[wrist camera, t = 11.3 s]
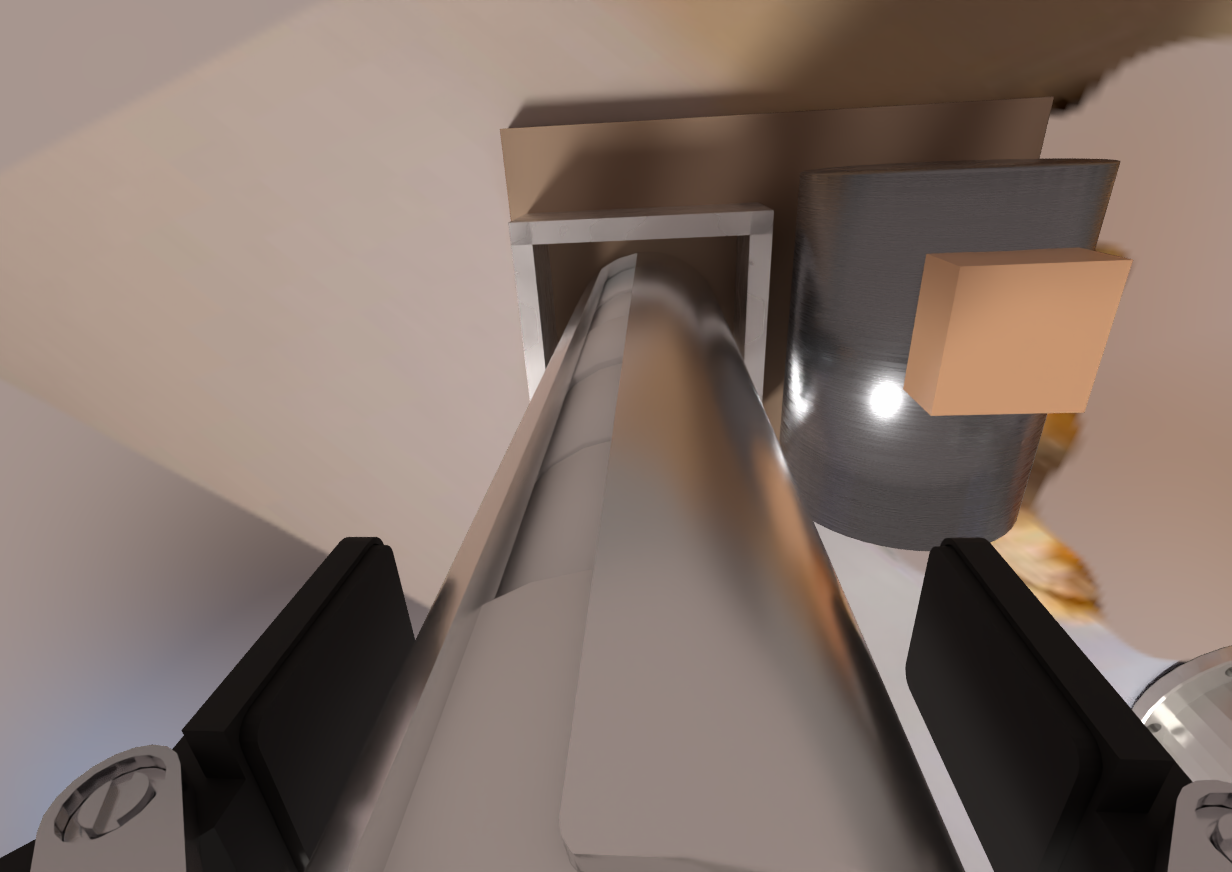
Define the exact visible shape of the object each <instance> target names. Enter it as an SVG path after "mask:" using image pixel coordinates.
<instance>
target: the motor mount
mask: <svg viewBox="0 0 1232 872" xmlns="http://www.w3.org/2000/svg"><path fill="white" fill-rule="evenodd" d="M1053 99H1054V97H1038V98H1020V99H1003V100H986V101H969V102H952V103H935V104H918V105H901V106H884V107H867V108H849V109H832V110H815V111H798V112H781V113H764V114H747V115H730V116H713V117H696V118H679V119H661V120H644V121H627V122H610V123H593V124H576V125H559V126H542V127H525V128H508V129H500V134H501V142H502V150H503V159H504V167H505V176H506V184H507V192H508V201H509V209H510V217H511V222H509V223H508V224H509V232H510V240H511V249H512V257H513V265H514V273H515V282H516V290H517V298H518V306H519V315H520V323H521V331H522V339H523V348H524V356H525V364H526V372H527V381H528V389H529V397H530V401H531V399H532V397H533V395H534V393H535V391H536V389H537V387H538V384H539V382H540V380H541V378H542V376H543V374H544V372H545V370H546V368H547V366H548V364H549V362H550V360H551V357H552V355H553V353H554V351H555V349H556V347H557V345H558V343H559V341H560V339H561V337H562V335H563V332H564V330H565V328H566V326H567V324H568V322H569V320H570V318H571V316H572V314H573V312H574V310H575V308H576V305H577V303H578V301H579V299H580V297H581V295H582V293H583V292H584V290H585V288H586V286H587V284H588V282H589V281H590V280H591V279H592V278H593V277H594V276H595V275H596V274H597V273H598V271H599V270H600V269H601V268H603V267H604V266H606V265H607V264H609V263H611V262H612V261H614V260H616V259H617V258H619V257H623V256H626V255H630V254H633V253H636V252H660V253H663V254H667V255H671V256H675V257H678V258H679V259H681V260H683V261H684V262H686V263H688V264H690V265H691V266H693V267H694V268H695V269H696V270H697V271H698V272H699V273H700V274H701V275H702V276H703V277H704V278H705V279H706V280H707V281H708V283H709V285H710V287H711V289H712V291H713V293H714V295H715V296H716V298H717V301H718V303H719V305H720V308H721V310H722V312H723V315H724V317H725V319H726V322H727V324H728V326H729V328H730V331H731V333H732V335H733V338H734V340H735V342H736V345H737V347H738V349H739V351H740V354H741V356H742V358H743V361H744V363H745V365H746V368H747V370H748V372H749V375H750V377H751V379H752V381H753V384H754V386H755V388H756V391H757V393H758V395H759V398H760V400H761V402H762V405H763V407H764V409H765V411H766V414H767V416H768V418H769V421H770V423H771V425H772V428H773V430H774V432H775V435H776V437H777V439H778V441H779V444H780V446H781V448H782V451H783V453H784V455H785V458H786V460H787V462H788V464H789V467H790V469H791V471H792V474H793V476H794V478H795V481H796V483H797V485H798V488H799V490H800V492H801V494H802V497H803V499H804V501H805V504H806V506H807V508H808V511H809V513H810V515H811V518H812V520H813V521H814V522H816V523H818V524H820V525H822V526H824V527H826V528H828V529H830V530H832V531H835V532H837V533H840V534H842V535H845V536H848V537H851V538H854V539H857V540H860V541H864V542H868V543H872V544H876V545H880V546H886V547H891V548H897V549H905V550H915V551H930V550H931V549H932V548H933V547H935V546H940V545H941V542H942V541H943V540H944V539H945V538H985V539H986V540H987V541H989V542H992V541H995V540H997V539H998V538H1000V537H1002V536H1003V535H1005V534H1006V533H1007V532H1008V531H1009V530H1010V529H1012V527H1013V525H1014V524H1015V522H1016V520H1017V516H1018V513H1019V509H1020V506H1021V502H1022V499H1023V496H1024V492H1025V489H1026V485H1027V482H1028V478H1029V475H1030V471H1031V468H1032V465H1033V461H1034V458H1035V454H1036V451H1037V447H1038V444H1039V440H1040V437H1041V434H1042V430H1043V427H1044V423H1045V420H1046V416H1047V413H1079V412H1085V409H1086V405H1087V402H1088V399H1089V396H1090V393H1091V390H1092V387H1093V384H1094V380H1095V377H1096V374H1097V371H1098V368H1099V365H1100V362H1101V358H1102V355H1103V352H1104V349H1105V346H1106V343H1107V340H1108V337H1109V333H1110V330H1111V327H1112V324H1113V321H1114V318H1115V315H1116V311H1117V308H1118V305H1119V302H1120V299H1121V296H1122V293H1123V290H1124V286H1125V283H1126V280H1127V277H1128V274H1129V271H1130V268H1131V265H1132V261H1133V260H1132V259H1127V258H1123V257H1119V256H1114V255H1110V254H1105V253H1101V252H1097V251H1095V247H1096V244H1097V241H1098V237H1099V233H1100V230H1101V227H1102V223H1103V220H1104V216H1105V213H1106V209H1107V206H1108V203H1109V199H1110V196H1111V192H1112V189H1113V185H1114V182H1115V179H1116V175H1117V171H1118V168H1119V165H1120V161H1118V160H1108V159H1039V158H1040V154H1041V149H1042V145H1043V141H1044V137H1045V133H1046V128H1047V124H1048V120H1049V116H1050V111H1051V107H1052V103H1053Z"/></svg>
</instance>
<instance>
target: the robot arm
mask: <svg viewBox="0 0 1232 872" xmlns="http://www.w3.org/2000/svg"><path fill="white" fill-rule="evenodd" d="M414 642H415V638H414V634H413V630H412V626H411V622H410V618H409V614H408V610H407V606H406V602H405V598H404V594H403V590H402V586H401V582H400V578H399V574H398V570H397V566H396V562H395V558H394V555H393V551H392V549H391V547H390V546H388V545H384V544H383V542H382V540H381V539H380V538H377V537H347V538H344V539H343V540H341V541H340V542H339V544H338V545H337V546H336V547H335V548H334V550H333V551H332V552H331V553H330V554H329V556H328V557H327V558H326V559H325V560H324V562H323V563H322V564H321V565H320V566H319V567H318V569H317V570H316V571H315V572H314V574H313V575H312V576H311V577H310V578H309V579H308V581H307V582H306V583H305V584H304V585H303V587H302V588H301V589H300V590H299V591H298V592H297V594H296V595H295V596H294V597H293V598H292V600H291V601H290V602H289V603H288V604H287V606H286V607H285V608H284V609H283V610H282V611H281V613H280V614H279V615H278V616H277V618H276V619H275V620H274V621H273V622H272V623H271V625H270V626H269V627H268V628H267V629H266V631H265V632H264V633H263V634H262V635H261V636H260V638H259V639H258V640H257V641H256V642H255V644H254V645H253V646H252V647H251V648H250V650H249V651H248V652H247V653H246V654H245V656H244V657H243V658H242V659H241V660H240V661H239V663H238V664H237V665H236V666H235V667H234V669H233V670H232V671H231V672H230V673H229V675H228V676H227V677H226V678H225V679H224V680H223V682H222V683H221V684H220V685H219V686H218V688H217V689H216V690H215V691H214V692H213V694H212V695H211V696H210V697H209V698H208V700H207V701H206V702H205V703H204V704H203V705H202V707H201V708H200V709H199V710H198V711H197V713H196V714H195V715H194V716H193V717H192V719H191V720H190V721H189V722H188V723H187V724H186V726H185V727H184V728H183V729H182V732H183V734H184V736H183V737H182V738H181V740H180V741H179V742H178V743H177V744H176V746H175V747H174V748H173V749H170V748H169V747H167V746H159V745H148V746H142V747H135V748H132V749H130V750H127V751H124V752H121V753H119V754H116V755H114V756H112V757H110V758H108V759H106V760H105V761H103V762H101V763H99V764H97V765H95V766H93V767H92V768H91V769H89V770H88V771H87V772H85V773H84V774H83V775H81V776H80V777H78V778H77V779H76V780H74V781H73V782H72V783H71V784H70V785H69V786H68V787H67V788H66V789H65V790H64V791H63V792H62V793H61V794H60V795H59V796H58V797H57V798H56V799H55V800H54V802H53V803H52V804H51V806H50V807H49V808H48V810H47V811H46V813H45V814H44V815H43V818H42V821H41V823H40V826H39V828H38V832H37V835H36V839H35V840H33V841H31V842H30V843H28V844H26V845H24V846H22V847H20V848H18V849H16V850H14V851H13V852H11V853H9V854H7V855H5V856H3V857H1V858H0V872H304V871H305V869H306V867H307V865H308V863H309V860H310V858H311V856H312V854H313V852H314V850H315V848H316V846H317V844H318V842H319V840H320V838H321V836H322V833H323V831H324V829H325V827H326V825H327V823H328V821H329V819H330V817H331V815H332V813H333V811H334V809H335V806H336V804H337V802H338V800H339V798H340V796H341V794H342V792H343V790H344V788H345V786H346V784H347V781H348V779H349V777H350V775H351V773H352V771H353V769H354V767H355V765H356V763H357V761H358V759H359V757H360V754H361V752H362V750H363V748H364V746H365V744H366V742H367V740H368V738H369V736H370V734H371V732H372V730H373V727H374V725H375V723H376V721H377V719H378V717H379V715H380V713H381V711H382V709H383V707H384V705H385V703H386V700H387V698H388V696H389V694H390V692H391V690H392V688H393V686H394V684H395V682H396V680H397V678H398V675H399V673H400V671H401V669H402V667H403V665H404V663H405V661H406V659H407V657H408V655H409V653H410V651H411V648H412V646H413V644H414ZM905 669H906V679H907V683H908V686H909V689H910V691H911V694H912V696H913V698H914V700H915V702H916V704H917V706H918V709H919V711H920V713H921V715H922V717H923V719H924V722H925V724H926V726H927V728H928V730H929V732H930V734H931V737H932V739H933V741H934V743H935V745H936V747H937V750H938V752H939V754H940V756H941V758H942V760H943V762H944V765H945V767H946V769H947V771H948V773H949V775H950V778H951V780H952V782H953V784H954V786H955V788H956V790H957V793H958V795H959V797H960V799H961V801H962V803H963V806H964V808H965V810H966V812H967V814H968V816H969V818H970V821H971V823H972V825H973V827H974V829H975V831H976V834H977V836H978V838H979V840H980V842H981V844H982V846H983V849H984V851H985V853H986V855H987V857H988V859H989V862H990V864H991V866H992V868H993V870H994V872H1232V646H1228V647H1224V648H1221V649H1218V650H1215V651H1213V652H1209V653H1207V654H1204V655H1201V656H1199V657H1197V658H1195V659H1193V660H1190V661H1188V662H1186V663H1184V664H1182V665H1180V666H1178V667H1177V668H1175V669H1174V670H1172V671H1171V672H1169V673H1168V674H1166V675H1165V676H1163V677H1161V678H1160V679H1159V680H1158V681H1157V682H1156V683H1154V684H1153V685H1152V686H1151V687H1150V688H1149V689H1147V690H1146V691H1145V693H1144V694H1143V695H1142V696H1141V697H1140V699H1139V700H1138V701H1137V702H1136V703H1135V705H1134V707H1133V708H1132V709H1131V708H1130V707H1129V706H1128V705H1127V703H1126V702H1125V701H1124V700H1123V699H1122V698H1121V696H1120V695H1119V694H1118V693H1117V692H1116V691H1115V689H1114V688H1113V687H1112V686H1111V685H1110V683H1109V682H1108V681H1107V680H1106V679H1105V678H1104V676H1103V675H1102V674H1101V673H1100V672H1099V670H1098V669H1097V668H1096V667H1095V666H1094V665H1093V663H1092V662H1091V661H1090V660H1089V659H1088V658H1087V656H1086V655H1085V654H1084V653H1083V652H1082V650H1081V649H1080V648H1079V647H1078V646H1077V645H1076V643H1075V642H1074V641H1073V640H1072V639H1071V638H1070V636H1069V635H1068V634H1067V633H1066V632H1065V630H1064V629H1063V628H1062V627H1061V626H1060V625H1059V623H1058V622H1057V621H1056V620H1055V619H1054V618H1053V616H1052V615H1051V614H1050V613H1049V612H1048V610H1047V609H1046V608H1045V607H1044V606H1043V605H1042V603H1041V602H1040V601H1039V600H1038V599H1037V598H1036V596H1035V595H1034V594H1033V593H1032V592H1031V590H1030V589H1029V588H1028V587H1027V586H1026V585H1025V583H1024V582H1023V581H1022V580H1021V579H1020V578H1019V576H1018V575H1017V574H1016V573H1015V572H1014V570H1013V569H1012V568H1011V567H1010V566H1009V565H1008V563H1007V562H1006V561H1005V560H1004V559H1003V558H1002V556H1001V555H1000V554H999V553H998V552H997V550H996V549H995V548H994V547H993V546H992V545H991V543H990V542H989V541H987V540H986V539H985V538H945V539H944V540H943V541H942V542H941V545H940V546H935V547H933V548H932V549H931V550H930V554H929V558H928V562H927V567H926V572H925V577H924V581H923V586H922V591H921V595H920V600H919V605H918V609H917V614H916V619H915V624H914V628H913V633H912V638H911V642H910V647H909V652H908V656H907V661H906V668H905Z"/></svg>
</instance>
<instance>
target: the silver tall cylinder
mask: <svg viewBox="0 0 1232 872" xmlns="http://www.w3.org/2000/svg"><path fill="white" fill-rule="evenodd" d="M304 872H965V870H964V868H963V866H962V863H961V861H960V859H959V857H958V854H957V852H956V850H955V847H954V845H953V843H952V840H951V838H950V836H949V833H948V831H947V829H946V827H945V824H944V822H943V820H942V817H941V815H940V813H939V810H938V808H937V806H936V803H935V801H934V799H933V797H932V794H931V792H930V790H929V787H928V785H927V783H926V780H925V778H924V776H923V774H922V771H921V769H920V767H919V764H918V762H917V760H916V757H915V755H914V753H913V750H912V748H911V746H910V744H909V741H908V739H907V737H906V734H905V732H904V730H903V727H902V725H901V723H900V720H899V718H898V716H897V714H896V711H895V709H894V707H893V704H892V702H891V700H890V697H889V695H888V693H887V690H886V688H885V686H884V684H883V681H882V679H881V677H880V674H879V672H878V670H877V667H876V665H875V663H874V661H873V658H872V656H871V654H870V651H869V649H868V647H867V644H866V642H865V640H864V637H863V635H862V633H861V631H860V628H859V626H858V624H857V621H856V619H855V617H854V614H853V612H852V610H851V607H850V605H849V603H848V601H847V598H846V596H845V594H844V591H843V589H842V587H841V584H840V582H839V580H838V577H837V575H836V573H835V571H834V568H833V566H832V564H831V561H830V559H829V557H828V554H827V552H826V550H825V548H824V545H823V543H822V541H821V538H820V536H819V534H818V531H817V529H816V527H815V524H814V522H813V520H812V518H811V515H810V513H809V511H808V508H807V506H806V504H805V501H804V499H803V497H802V494H801V492H800V490H799V488H798V485H797V483H796V481H795V478H794V476H793V474H792V471H791V469H790V467H789V464H788V462H787V460H786V458H785V455H784V453H783V451H782V448H781V446H780V444H779V441H778V439H777V437H776V435H775V432H774V430H773V428H772V425H771V423H770V421H769V418H768V416H767V414H766V411H765V409H764V407H763V405H762V402H761V400H760V398H759V395H758V393H757V391H756V388H755V386H754V384H753V381H752V379H751V377H750V375H749V372H748V370H747V368H746V365H745V363H744V361H743V358H742V356H741V354H740V351H739V349H738V347H737V345H736V342H735V340H734V338H733V335H732V333H731V331H730V328H729V326H728V324H727V322H726V319H725V317H724V315H723V312H722V310H721V308H720V305H719V303H718V301H717V298H716V296H715V295H714V293H713V291H712V289H711V287H710V285H709V283H708V281H707V280H706V279H705V278H704V277H703V276H702V275H701V274H700V273H699V272H698V271H697V270H696V269H695V268H694V267H693V266H691V265H690V264H688V263H686V262H684V261H683V260H681V259H679V258H678V257H675V256H671V255H667V254H663V253H660V252H636V253H633V254H630V255H626V256H623V257H619V258H617V259H616V260H614V261H612V262H611V263H609V264H607V265H606V266H604V267H603V268H601V269H600V270H599V271H598V273H597V274H596V275H595V276H594V277H593V278H592V279H591V280H590V281H589V282H588V284H587V286H586V288H585V290H584V292H583V293H582V295H581V297H580V299H579V301H578V303H577V305H576V308H575V310H574V312H573V314H572V316H571V318H570V320H569V322H568V324H567V326H566V328H565V330H564V332H563V335H562V337H561V339H560V341H559V343H558V345H557V347H556V349H555V351H554V353H553V355H552V357H551V360H550V362H549V364H548V366H547V368H546V370H545V372H544V374H543V376H542V378H541V380H540V382H539V384H538V387H537V389H536V391H535V393H534V395H533V397H532V399H531V401H530V403H529V405H528V407H527V409H526V411H525V414H524V416H523V418H522V420H521V422H520V424H519V426H518V428H517V430H516V432H515V434H514V436H513V439H512V441H511V443H510V445H509V447H508V449H507V451H506V453H505V455H504V457H503V459H502V461H501V463H500V466H499V468H498V470H497V472H496V474H495V476H494V478H493V480H492V482H491V484H490V486H489V488H488V490H487V493H486V495H485V497H484V499H483V501H482V503H481V505H480V507H479V509H478V511H477V513H476V515H475V517H474V520H473V522H472V524H471V526H470V528H469V530H468V532H467V534H466V536H465V538H464V540H463V542H462V545H461V547H460V549H459V551H458V553H457V555H456V557H455V559H454V561H453V563H452V565H451V567H450V569H449V572H448V574H447V576H446V578H445V580H444V582H443V584H442V586H441V588H440V590H439V592H438V594H437V596H436V599H435V601H434V603H433V605H432V607H431V609H430V611H429V613H428V615H427V617H426V619H425V621H424V624H423V626H422V628H421V630H420V632H419V634H418V636H417V638H416V640H415V642H414V644H413V646H412V648H411V651H410V653H409V655H408V657H407V659H406V661H405V663H404V665H403V667H402V669H401V671H400V673H399V675H398V678H397V680H396V682H395V684H394V686H393V688H392V690H391V692H390V694H389V696H388V698H387V700H386V703H385V705H384V707H383V709H382V711H381V713H380V715H379V717H378V719H377V721H376V723H375V725H374V727H373V730H372V732H371V734H370V736H369V738H368V740H367V742H366V744H365V746H364V748H363V750H362V752H361V754H360V757H359V759H358V761H357V763H356V765H355V767H354V769H353V771H352V773H351V775H350V777H349V779H348V781H347V784H346V786H345V788H344V790H343V792H342V794H341V796H340V798H339V800H338V802H337V804H336V806H335V809H334V811H333V813H332V815H331V817H330V819H329V821H328V823H327V825H326V827H325V829H324V831H323V833H322V836H321V838H320V840H319V842H318V844H317V846H316V848H315V850H314V852H313V854H312V856H311V858H310V860H309V863H308V865H307V867H306V869H305V871H304Z"/></svg>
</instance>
